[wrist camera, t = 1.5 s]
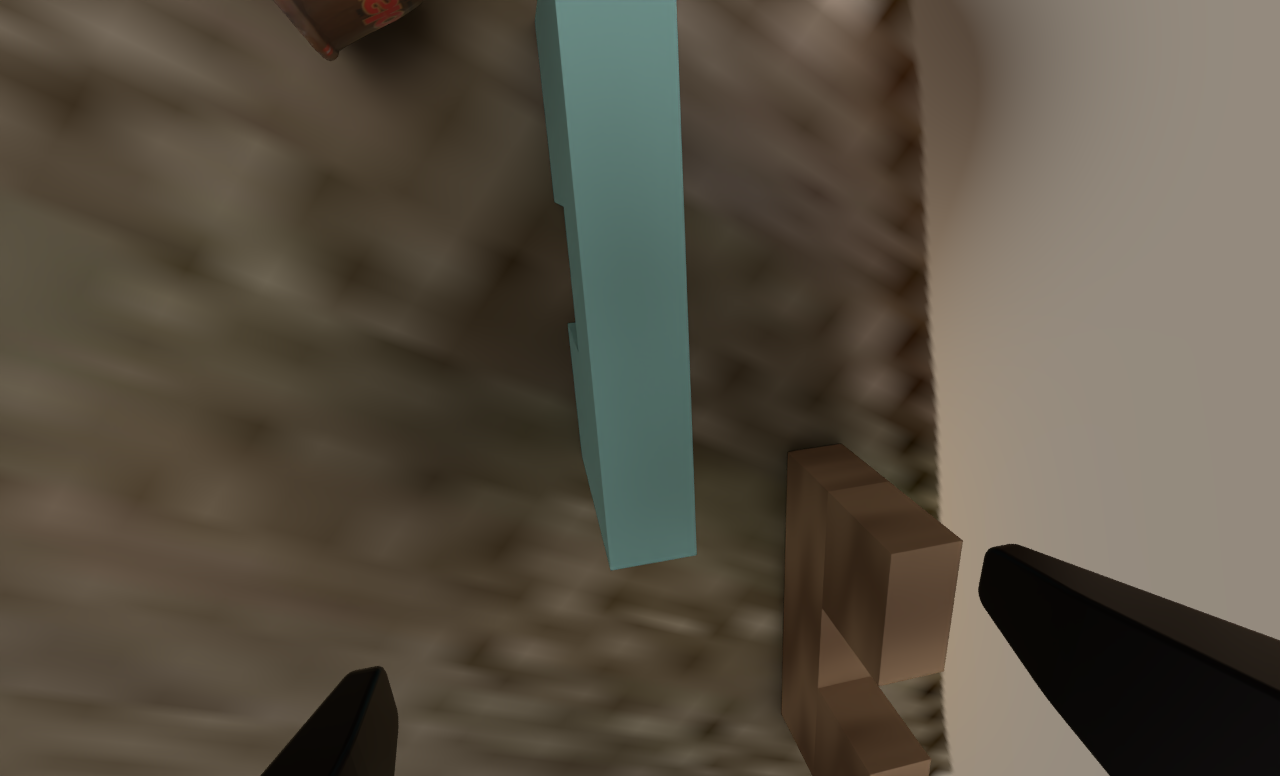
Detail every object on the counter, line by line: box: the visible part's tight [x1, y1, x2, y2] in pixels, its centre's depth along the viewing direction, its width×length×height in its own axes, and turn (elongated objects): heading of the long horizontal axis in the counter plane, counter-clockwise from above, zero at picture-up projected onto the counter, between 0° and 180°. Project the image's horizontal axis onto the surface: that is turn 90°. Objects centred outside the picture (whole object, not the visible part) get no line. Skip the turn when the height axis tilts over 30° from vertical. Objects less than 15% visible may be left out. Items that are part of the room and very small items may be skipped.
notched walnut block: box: [781, 444, 963, 776], centre depth 20 cm, size 12×2×6 cm, turn 4°
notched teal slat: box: [535, 0, 697, 570], centre depth 14 cm, size 12×2×6 cm, turn 4°
